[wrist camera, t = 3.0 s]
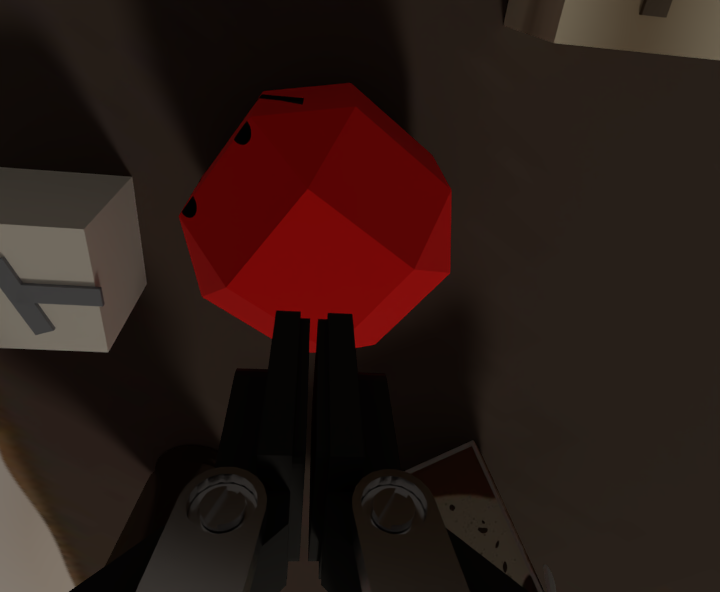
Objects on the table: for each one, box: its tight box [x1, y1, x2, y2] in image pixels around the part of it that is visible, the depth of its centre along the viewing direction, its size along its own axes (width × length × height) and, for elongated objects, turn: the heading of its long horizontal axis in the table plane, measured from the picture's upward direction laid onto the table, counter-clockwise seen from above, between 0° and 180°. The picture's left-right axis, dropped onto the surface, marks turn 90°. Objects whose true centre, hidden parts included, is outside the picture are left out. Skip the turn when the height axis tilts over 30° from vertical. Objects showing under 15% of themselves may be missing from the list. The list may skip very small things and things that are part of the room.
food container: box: [404, 440, 556, 592], centre depth 29 cm, size 12×6×10 cm, turn 122°
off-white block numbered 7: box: [0, 167, 147, 352], centre depth 20 cm, size 5×5×5 cm
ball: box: [179, 83, 451, 352], centre depth 18 cm, size 8×8×8 cm
